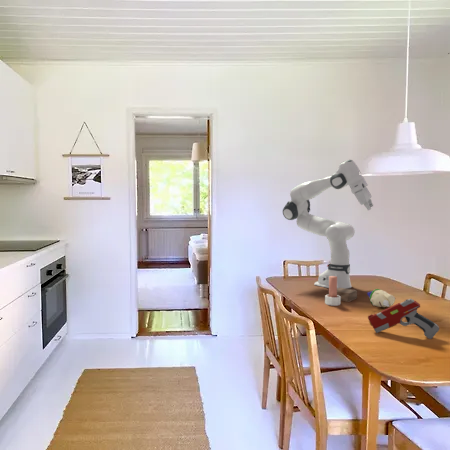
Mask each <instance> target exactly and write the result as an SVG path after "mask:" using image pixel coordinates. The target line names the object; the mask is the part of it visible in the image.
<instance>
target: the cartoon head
mask: <svg viewBox="0 0 450 450" xmlns="http://www.w3.org/2000/svg"><path fill="white" fill-rule="evenodd" d="M366 294H367V297H368V298H369V301H370V303H371V305H372V306H374V307H375V306H376V307H379V308H385V307H387V308H389V307H391V306H394V305H395V302H396V298H395V296H394V295H393V294H390V293H388V292H387V291H386V290H383V289H379V288H374V289H373V290H371V291H368V292H366Z"/></svg>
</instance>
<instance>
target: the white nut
mask: <svg viewBox="0 0 450 450" xmlns="http://www.w3.org/2000/svg"><path fill="white" fill-rule="evenodd" d="M341 302H342V301H341V296H339V295H337V297H329V293H328V294H326V295H324V304H325V305H327V306H334V307H335V306H340V305H341Z"/></svg>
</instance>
